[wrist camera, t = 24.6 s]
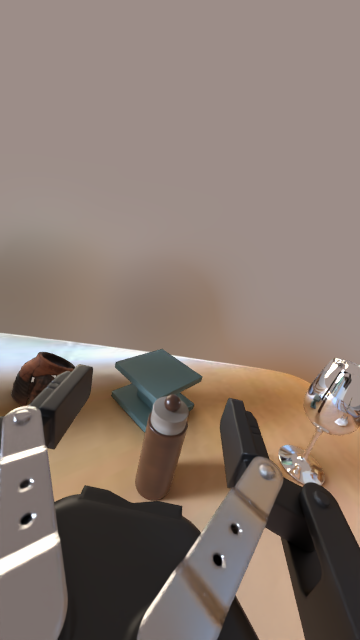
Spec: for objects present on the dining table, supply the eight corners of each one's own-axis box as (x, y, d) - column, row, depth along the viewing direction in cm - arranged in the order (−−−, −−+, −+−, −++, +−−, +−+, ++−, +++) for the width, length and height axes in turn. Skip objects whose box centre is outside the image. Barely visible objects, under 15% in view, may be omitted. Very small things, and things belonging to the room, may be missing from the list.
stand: (111, 396, 46) (115, 361, 43) (156, 378, 54) (162, 348, 52) (148, 436, 38) (156, 399, 36) (193, 408, 47) (202, 376, 45)
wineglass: (317, 499, 34) (384, 392, 28) (269, 459, 39) (317, 360, 33) (330, 470, 40) (389, 375, 33) (286, 438, 45) (330, 350, 38)
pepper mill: (128, 477, 32) (144, 391, 27) (155, 457, 35) (174, 378, 30) (150, 509, 29) (174, 418, 24) (177, 484, 32) (203, 401, 27)
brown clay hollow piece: (10, 382, 44) (33, 344, 45) (59, 396, 49) (79, 362, 50) (-3, 413, 34) (28, 363, 35) (60, 427, 38) (86, 383, 39)
